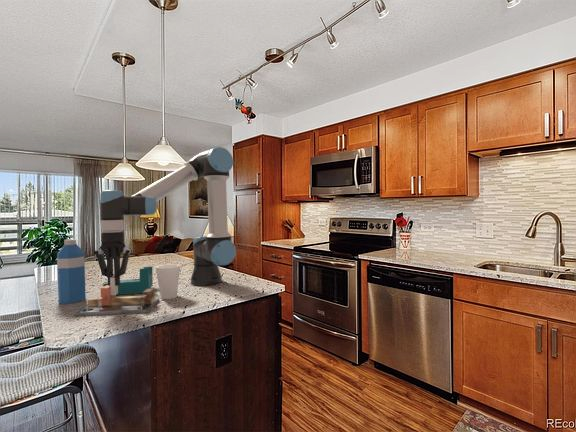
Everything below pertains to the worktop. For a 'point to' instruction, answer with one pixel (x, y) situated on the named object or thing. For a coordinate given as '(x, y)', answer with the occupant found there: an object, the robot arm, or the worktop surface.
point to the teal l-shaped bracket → (136, 283)
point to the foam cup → (168, 280)
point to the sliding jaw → (105, 296)
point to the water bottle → (71, 273)
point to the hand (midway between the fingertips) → (114, 294)
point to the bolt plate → (115, 309)
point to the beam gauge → (128, 299)
